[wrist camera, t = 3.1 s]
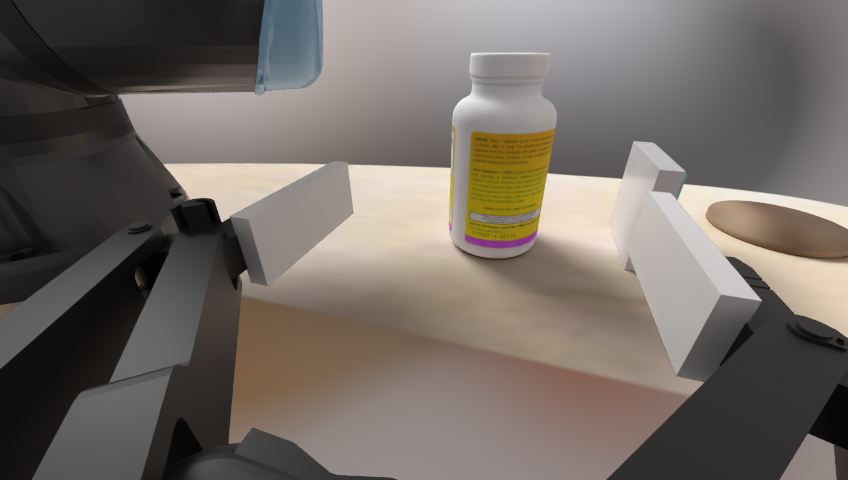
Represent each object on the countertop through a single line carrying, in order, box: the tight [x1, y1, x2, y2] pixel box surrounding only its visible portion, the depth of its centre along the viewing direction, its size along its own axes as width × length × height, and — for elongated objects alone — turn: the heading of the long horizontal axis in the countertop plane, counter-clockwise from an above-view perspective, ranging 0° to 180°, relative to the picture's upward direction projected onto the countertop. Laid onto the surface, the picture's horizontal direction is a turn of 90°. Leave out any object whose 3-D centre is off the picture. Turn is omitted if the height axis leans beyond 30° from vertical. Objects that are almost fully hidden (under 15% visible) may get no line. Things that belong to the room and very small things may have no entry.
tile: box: [609, 142, 687, 271], centre depth 24 cm, size 2×7×7 cm, turn 162°
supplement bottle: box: [449, 53, 557, 258], centre depth 23 cm, size 7×7×13 cm
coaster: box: [706, 201, 848, 259], centre depth 28 cm, size 9×9×1 cm
